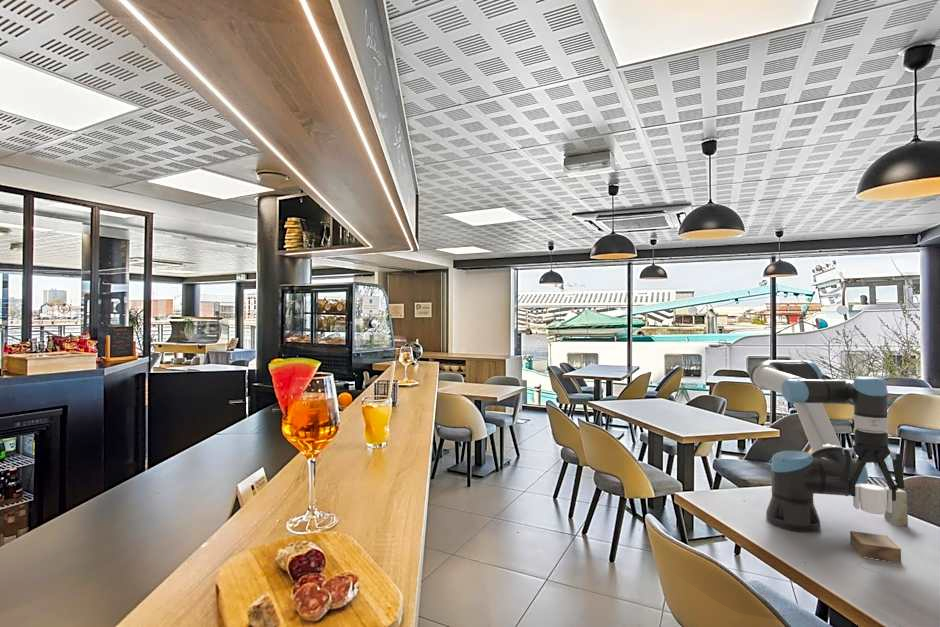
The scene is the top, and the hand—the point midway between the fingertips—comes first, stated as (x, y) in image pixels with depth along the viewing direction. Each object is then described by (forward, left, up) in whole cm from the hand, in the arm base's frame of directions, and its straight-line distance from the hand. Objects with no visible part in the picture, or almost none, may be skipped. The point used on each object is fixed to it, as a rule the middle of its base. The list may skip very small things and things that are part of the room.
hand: (872, 509), depth 140 cm
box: (+16, +29, -13) cm, 36 cm away
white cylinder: (0, 0, -1) cm, 1 cm away
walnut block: (+1, 0, -13) cm, 13 cm away
